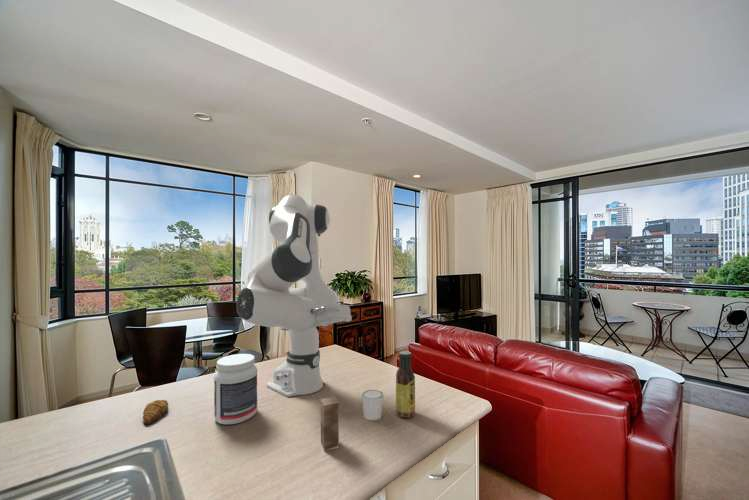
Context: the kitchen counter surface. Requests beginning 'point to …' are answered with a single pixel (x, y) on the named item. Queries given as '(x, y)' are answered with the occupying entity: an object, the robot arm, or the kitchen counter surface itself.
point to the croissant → (154, 411)
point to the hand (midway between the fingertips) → (338, 320)
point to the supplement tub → (235, 389)
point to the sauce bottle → (405, 387)
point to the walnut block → (329, 423)
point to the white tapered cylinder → (372, 404)
